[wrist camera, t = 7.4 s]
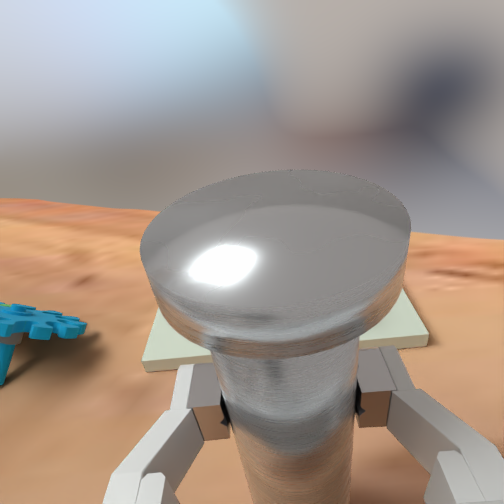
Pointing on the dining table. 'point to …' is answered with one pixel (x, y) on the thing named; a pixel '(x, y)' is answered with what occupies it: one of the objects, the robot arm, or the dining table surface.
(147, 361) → the socket board
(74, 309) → the dining table surface
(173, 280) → the pin
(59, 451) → the dining table surface
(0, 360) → the gear
